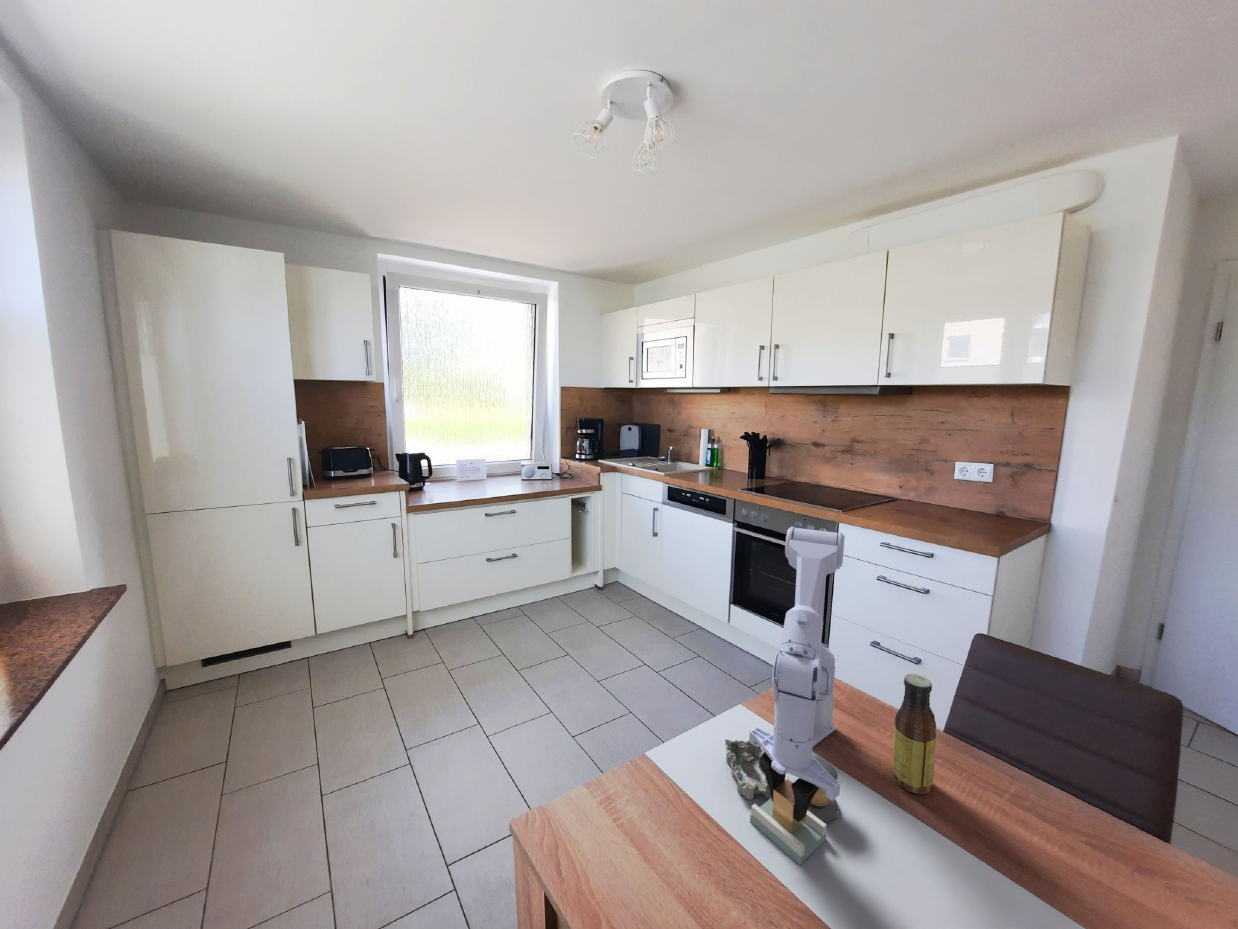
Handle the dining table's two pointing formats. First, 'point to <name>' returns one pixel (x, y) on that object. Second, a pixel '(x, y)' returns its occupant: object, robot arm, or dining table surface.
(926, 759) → the sauce bottle
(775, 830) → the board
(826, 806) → the spool
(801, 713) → the robot arm
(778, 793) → the wooden block
